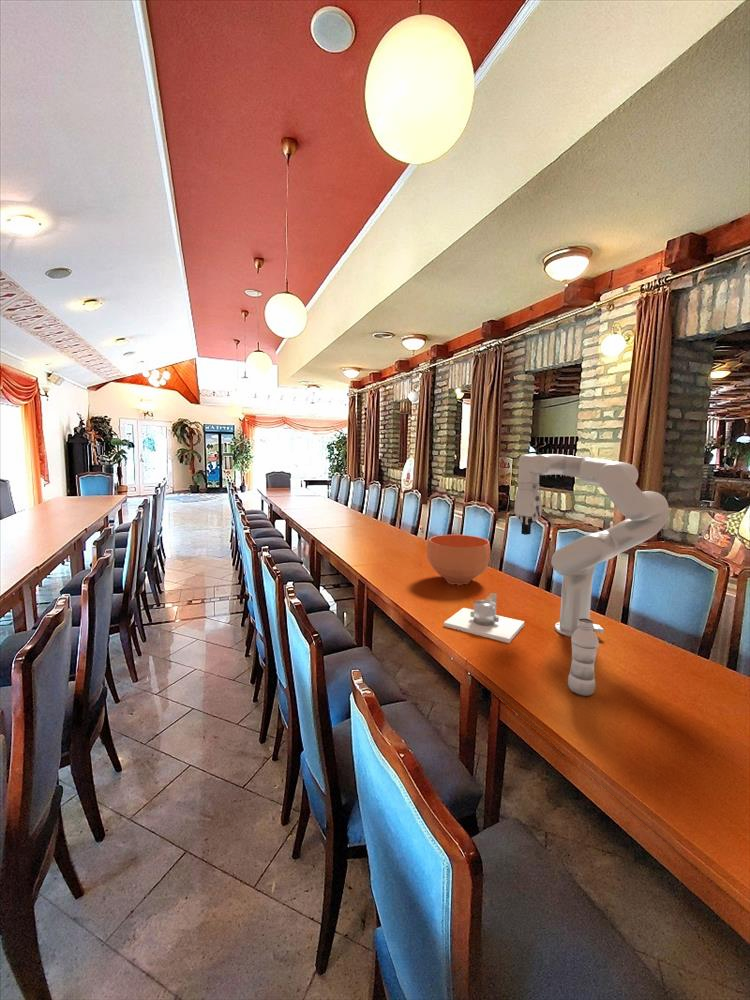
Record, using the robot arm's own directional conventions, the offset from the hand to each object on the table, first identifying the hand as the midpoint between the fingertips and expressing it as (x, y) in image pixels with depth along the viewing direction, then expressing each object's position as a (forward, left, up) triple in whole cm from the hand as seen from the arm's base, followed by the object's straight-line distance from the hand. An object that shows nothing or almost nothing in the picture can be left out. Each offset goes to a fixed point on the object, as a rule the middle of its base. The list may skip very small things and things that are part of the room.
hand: (525, 534), depth 167 cm
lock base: (+8, +20, -32) cm, 39 cm away
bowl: (+38, -24, -32) cm, 55 cm away
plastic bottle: (-29, +47, -32) cm, 64 cm away
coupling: (+8, +16, -30) cm, 35 cm away
